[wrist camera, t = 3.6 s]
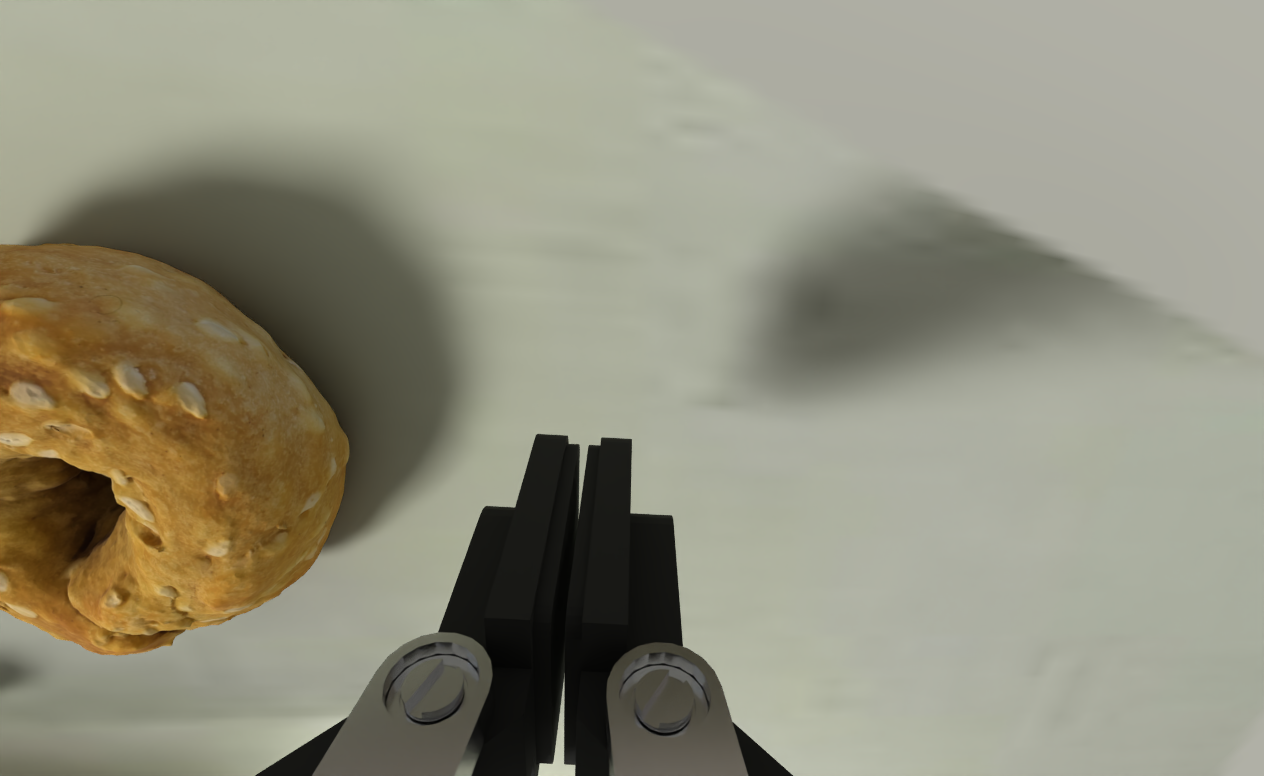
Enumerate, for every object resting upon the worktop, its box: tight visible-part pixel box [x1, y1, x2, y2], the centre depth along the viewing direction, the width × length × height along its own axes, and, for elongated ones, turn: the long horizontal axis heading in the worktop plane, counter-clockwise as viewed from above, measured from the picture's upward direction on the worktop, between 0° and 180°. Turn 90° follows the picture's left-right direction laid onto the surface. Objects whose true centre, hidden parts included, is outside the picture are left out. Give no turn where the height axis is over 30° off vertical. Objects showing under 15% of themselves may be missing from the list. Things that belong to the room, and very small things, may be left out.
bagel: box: [0, 243, 350, 655], centre depth 13 cm, size 10×11×5 cm
